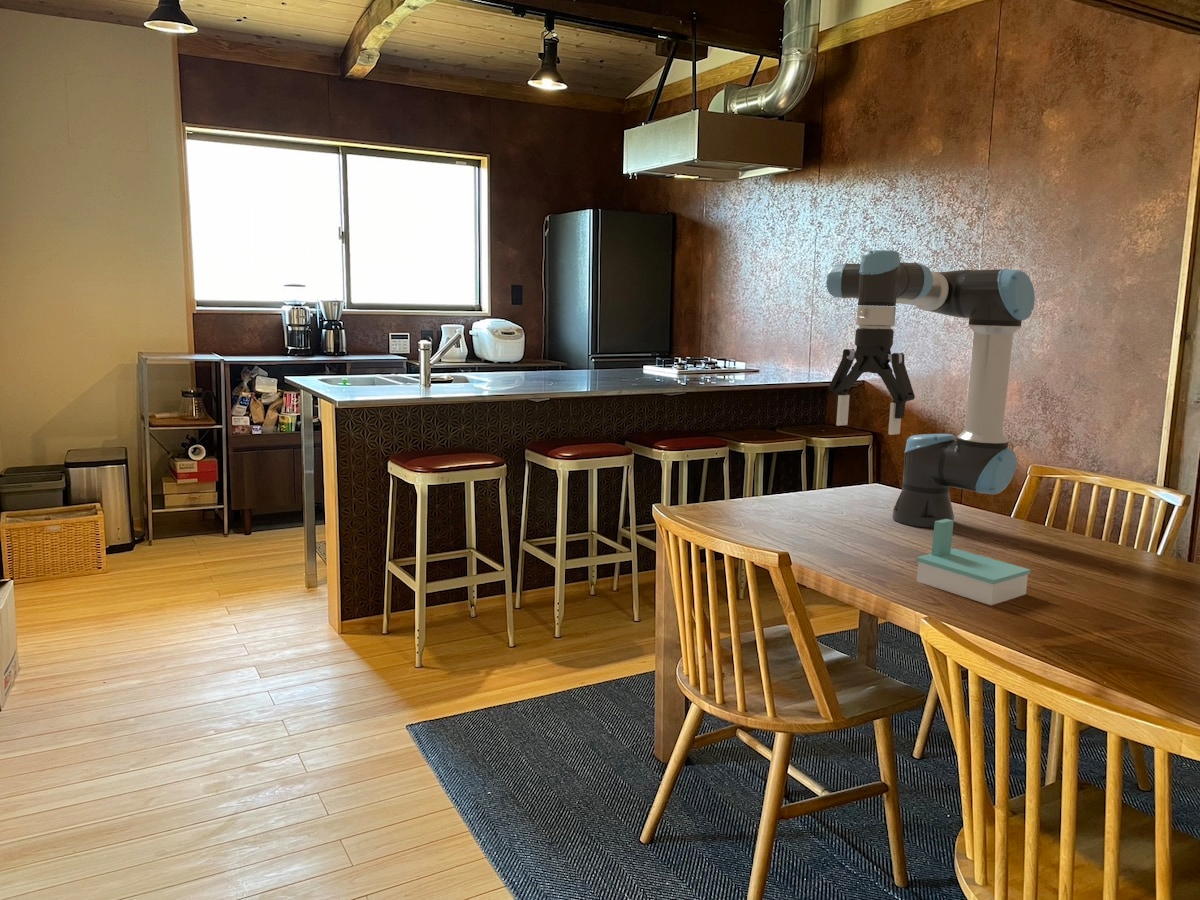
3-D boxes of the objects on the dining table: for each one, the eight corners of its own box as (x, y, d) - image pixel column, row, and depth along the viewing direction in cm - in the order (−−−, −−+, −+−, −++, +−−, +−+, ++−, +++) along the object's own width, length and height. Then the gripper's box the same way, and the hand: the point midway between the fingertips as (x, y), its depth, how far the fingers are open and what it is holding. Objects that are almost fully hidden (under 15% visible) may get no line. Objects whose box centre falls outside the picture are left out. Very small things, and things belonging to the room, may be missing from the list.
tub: (951, 575, 180) (953, 552, 180) (1025, 598, 168) (1028, 573, 167) (916, 585, 174) (918, 561, 173) (990, 609, 161) (993, 583, 160)
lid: (952, 554, 180) (956, 515, 179) (1029, 576, 167) (1034, 534, 165) (915, 563, 173) (919, 523, 172) (993, 587, 160) (997, 543, 158)
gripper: (816, 325, 185) (810, 422, 189) (914, 330, 165) (905, 439, 169) (840, 325, 189) (833, 420, 193) (939, 330, 169) (929, 436, 173)
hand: (867, 429), depth 181 cm, fingers open, 13 cm apart
